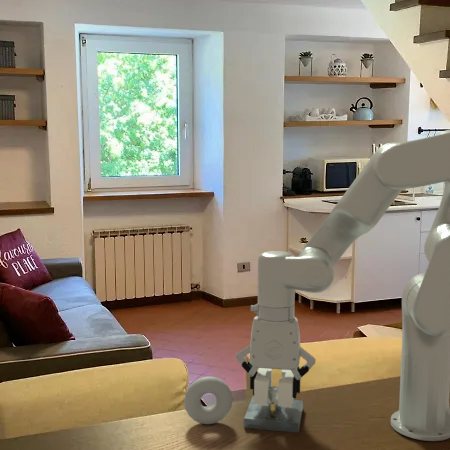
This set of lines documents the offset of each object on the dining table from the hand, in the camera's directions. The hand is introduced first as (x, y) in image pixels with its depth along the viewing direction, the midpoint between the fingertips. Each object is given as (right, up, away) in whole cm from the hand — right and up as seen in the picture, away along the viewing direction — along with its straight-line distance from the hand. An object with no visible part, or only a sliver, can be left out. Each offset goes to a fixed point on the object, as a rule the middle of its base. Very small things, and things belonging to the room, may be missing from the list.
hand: (275, 393), depth 131 cm
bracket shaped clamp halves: (0, -1, 0) cm, 1 cm away
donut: (-14, -6, -2) cm, 15 cm away
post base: (0, -5, +1) cm, 5 cm away
